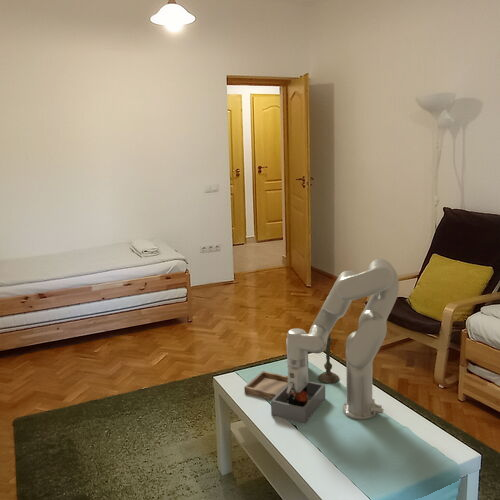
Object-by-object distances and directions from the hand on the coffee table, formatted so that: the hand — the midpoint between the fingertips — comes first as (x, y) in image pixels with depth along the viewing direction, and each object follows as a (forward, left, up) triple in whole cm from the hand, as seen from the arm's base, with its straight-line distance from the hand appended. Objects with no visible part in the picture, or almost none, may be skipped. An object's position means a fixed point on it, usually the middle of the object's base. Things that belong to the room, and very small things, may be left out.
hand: (297, 401), depth 189 cm
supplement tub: (+14, -29, -3) cm, 32 cm away
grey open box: (0, 0, -2) cm, 2 cm away
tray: (+17, -8, -2) cm, 19 cm away
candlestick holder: (-2, -26, -3) cm, 26 cm away
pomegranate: (0, 0, -3) cm, 3 cm away
